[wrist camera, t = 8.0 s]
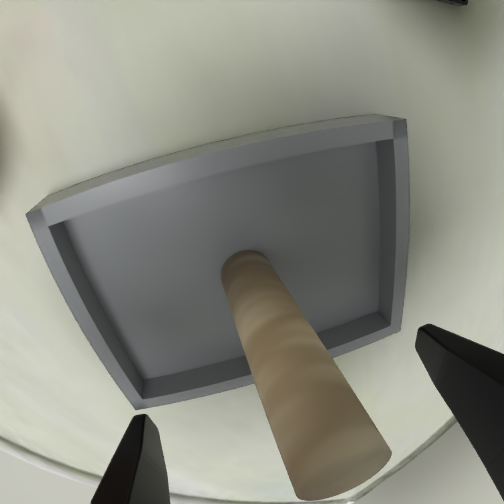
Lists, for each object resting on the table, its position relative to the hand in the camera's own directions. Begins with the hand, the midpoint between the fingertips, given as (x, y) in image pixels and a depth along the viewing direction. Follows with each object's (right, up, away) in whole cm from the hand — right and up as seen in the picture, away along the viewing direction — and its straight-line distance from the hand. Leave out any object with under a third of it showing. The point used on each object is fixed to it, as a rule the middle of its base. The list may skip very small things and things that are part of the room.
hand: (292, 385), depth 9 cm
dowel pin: (-1, +3, +6) cm, 7 cm away
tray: (-2, +3, +7) cm, 8 cm away
